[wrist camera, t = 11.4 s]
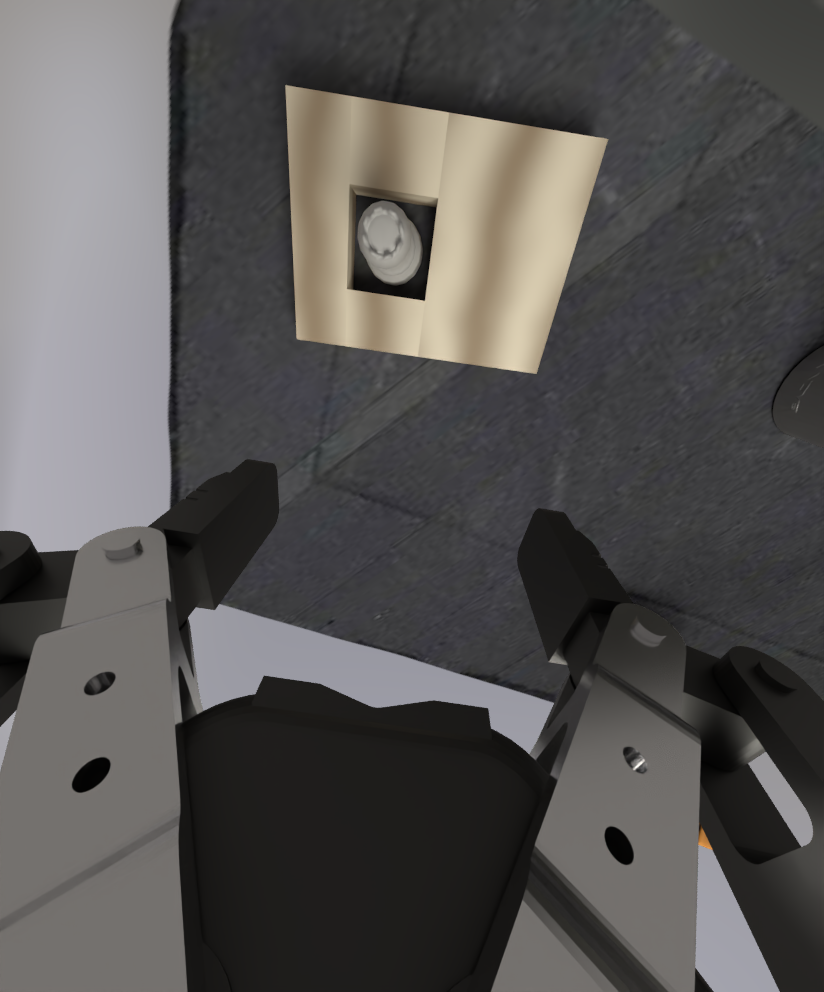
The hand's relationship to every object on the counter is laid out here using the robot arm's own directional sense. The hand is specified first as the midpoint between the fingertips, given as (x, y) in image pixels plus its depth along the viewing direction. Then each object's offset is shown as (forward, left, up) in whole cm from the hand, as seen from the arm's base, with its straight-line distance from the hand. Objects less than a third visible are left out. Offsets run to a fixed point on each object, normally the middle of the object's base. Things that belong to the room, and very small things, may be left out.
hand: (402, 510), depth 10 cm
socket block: (0, -9, -23) cm, 25 cm away
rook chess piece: (+3, -9, -23) cm, 25 cm away
